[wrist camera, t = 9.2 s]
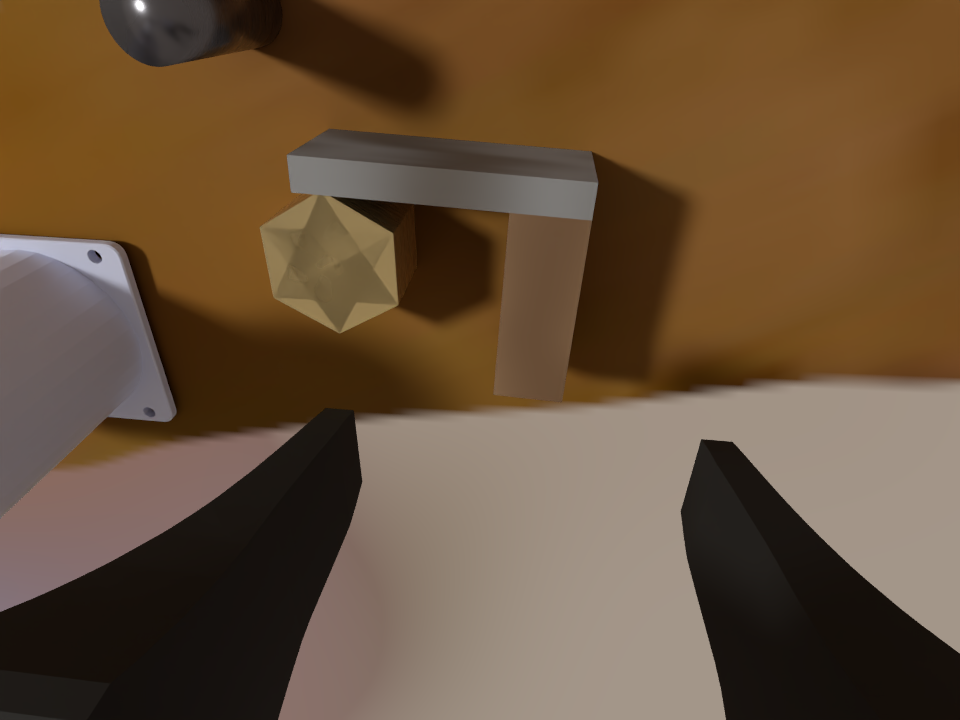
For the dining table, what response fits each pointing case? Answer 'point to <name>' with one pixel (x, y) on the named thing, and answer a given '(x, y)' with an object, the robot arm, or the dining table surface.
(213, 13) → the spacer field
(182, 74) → the dining table surface
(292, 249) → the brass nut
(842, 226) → the dining table surface
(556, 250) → the hook tool
